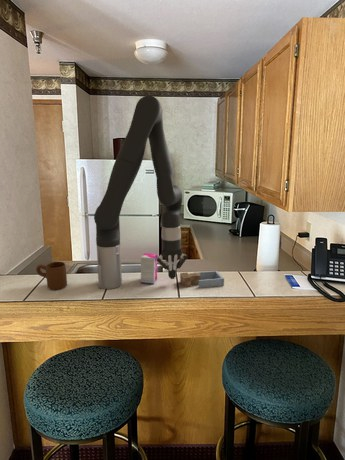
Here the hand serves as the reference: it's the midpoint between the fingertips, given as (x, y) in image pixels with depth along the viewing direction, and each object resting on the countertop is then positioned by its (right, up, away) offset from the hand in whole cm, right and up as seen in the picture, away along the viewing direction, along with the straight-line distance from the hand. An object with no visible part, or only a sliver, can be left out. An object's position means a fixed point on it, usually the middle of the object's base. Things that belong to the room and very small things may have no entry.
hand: (172, 278), depth 134 cm
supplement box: (-10, -2, +4) cm, 11 cm away
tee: (+8, -3, +2) cm, 8 cm away
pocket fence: (+16, -2, +3) cm, 16 cm away
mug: (-48, -4, 0) cm, 48 cm away
